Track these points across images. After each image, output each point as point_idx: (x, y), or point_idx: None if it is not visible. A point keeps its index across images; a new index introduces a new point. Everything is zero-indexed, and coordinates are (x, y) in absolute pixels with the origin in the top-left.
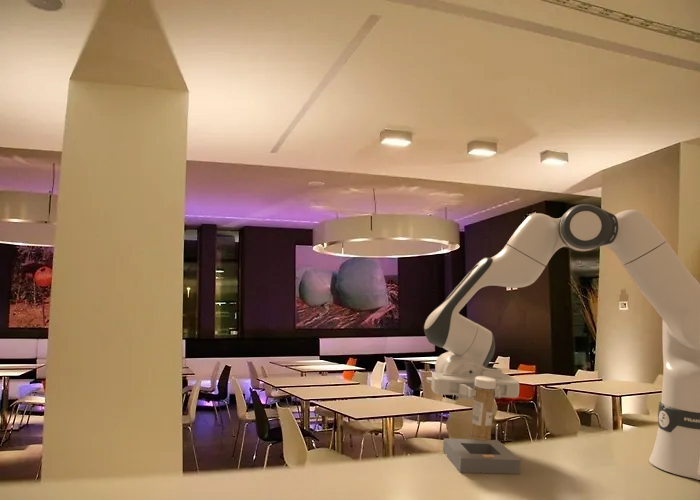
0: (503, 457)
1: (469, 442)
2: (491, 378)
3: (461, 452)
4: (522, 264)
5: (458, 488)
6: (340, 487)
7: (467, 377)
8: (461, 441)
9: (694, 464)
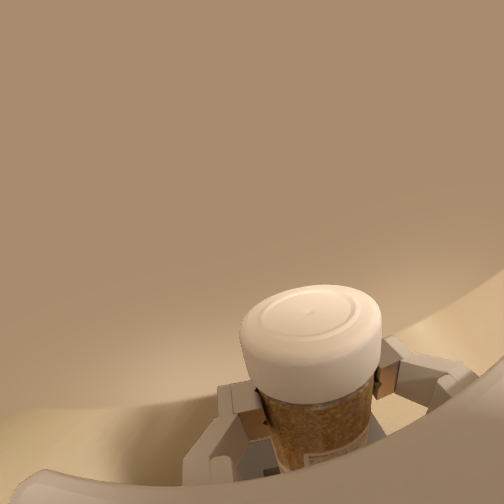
0: (261, 452)
1: None
2: (266, 322)
3: (372, 441)
4: None
5: None
6: (474, 304)
7: (484, 491)
8: None
9: None
